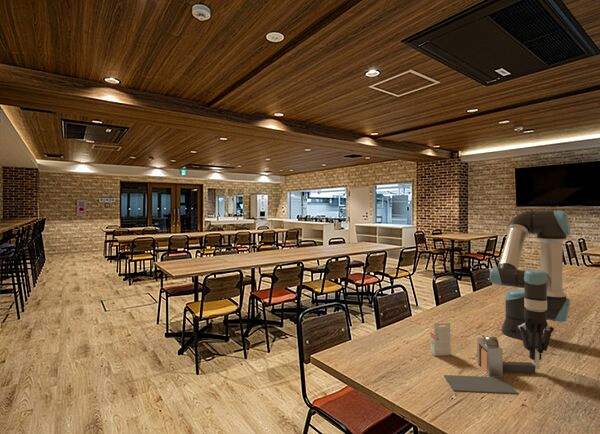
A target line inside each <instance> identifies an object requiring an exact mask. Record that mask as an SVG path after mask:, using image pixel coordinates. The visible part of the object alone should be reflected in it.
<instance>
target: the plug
mask: <svg viewBox="0 0 600 434" xmlns="http://www.w3.org/2000/svg"><path fill="white" fill-rule="evenodd" d="M480 366H481V369H483V370H484V372H485V373H486V374H487V350H486V349H485V348H481V365H480ZM503 373H512V374H513V373H514V374H517V373H518V374H536V369H535V365H534V364H533V363H531V362H526V361H524V362H523V361H503Z"/></svg>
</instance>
